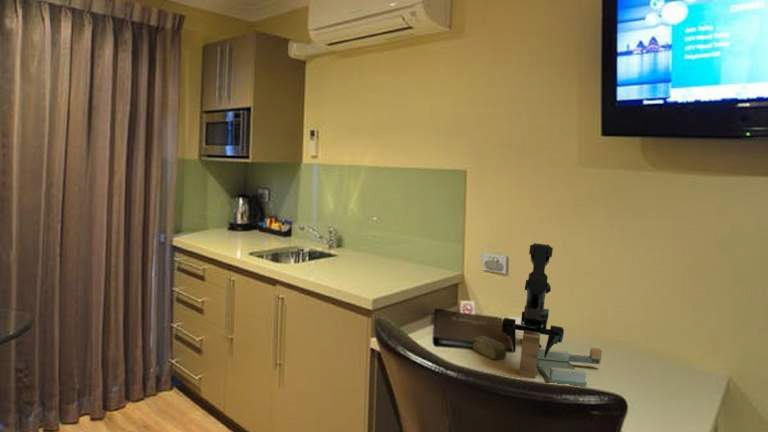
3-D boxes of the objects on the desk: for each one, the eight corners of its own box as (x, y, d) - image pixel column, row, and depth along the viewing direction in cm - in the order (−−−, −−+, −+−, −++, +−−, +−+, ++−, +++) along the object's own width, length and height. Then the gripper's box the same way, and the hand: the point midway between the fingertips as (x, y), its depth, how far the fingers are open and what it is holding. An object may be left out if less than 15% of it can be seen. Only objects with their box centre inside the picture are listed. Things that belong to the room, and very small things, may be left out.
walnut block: (519, 369, 158) (523, 330, 157) (535, 372, 157) (540, 332, 156) (518, 375, 154) (523, 334, 152) (535, 378, 152) (539, 337, 151)
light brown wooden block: (536, 356, 166) (537, 342, 165) (597, 361, 165) (599, 348, 165) (537, 358, 164) (539, 345, 163) (600, 364, 163) (601, 350, 163)
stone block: (494, 361, 163) (496, 347, 163) (470, 350, 173) (472, 336, 172) (506, 359, 167) (508, 345, 166) (482, 347, 176) (483, 334, 176)
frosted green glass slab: (532, 359, 168) (534, 346, 168) (565, 362, 168) (566, 349, 167) (549, 384, 149) (550, 369, 148) (586, 387, 148) (587, 373, 148)
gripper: (505, 293, 160) (499, 336, 150) (566, 302, 154) (563, 348, 145) (505, 310, 168) (499, 352, 159) (563, 320, 162) (560, 364, 153)
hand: (529, 354), depth 153 cm, fingers open, 9 cm apart
